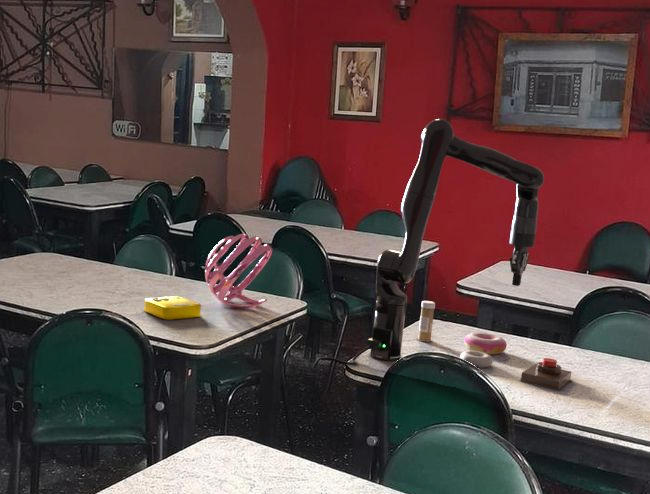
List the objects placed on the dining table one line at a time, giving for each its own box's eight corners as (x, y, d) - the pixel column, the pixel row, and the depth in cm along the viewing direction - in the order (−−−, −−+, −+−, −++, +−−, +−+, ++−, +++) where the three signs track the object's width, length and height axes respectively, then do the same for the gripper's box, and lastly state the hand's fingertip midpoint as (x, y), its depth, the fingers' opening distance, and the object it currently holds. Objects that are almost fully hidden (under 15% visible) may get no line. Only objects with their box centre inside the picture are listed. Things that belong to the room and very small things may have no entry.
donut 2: (490, 371, 260) (493, 363, 269) (491, 360, 259) (494, 352, 269) (457, 365, 263) (461, 357, 272) (458, 355, 262) (463, 347, 272)
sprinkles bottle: (433, 341, 290) (438, 303, 288) (423, 342, 288) (428, 303, 286) (424, 338, 294) (429, 300, 292) (414, 338, 292) (419, 300, 289)
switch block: (557, 390, 246) (560, 375, 245) (520, 381, 252) (522, 366, 251) (570, 380, 258) (572, 365, 257) (534, 371, 264) (536, 357, 263)
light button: (553, 369, 253) (554, 362, 252) (540, 366, 255) (541, 359, 254) (557, 366, 256) (558, 360, 256) (544, 363, 258) (545, 357, 258)
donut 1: (456, 348, 284) (457, 333, 283) (476, 343, 294) (478, 329, 293) (491, 358, 275) (493, 343, 274) (512, 352, 285) (514, 338, 284)
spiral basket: (305, 257, 320) (252, 210, 324) (269, 284, 297) (212, 233, 301) (270, 305, 335) (219, 260, 339) (232, 334, 312) (179, 285, 316)
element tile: (165, 320, 286) (166, 306, 285) (142, 310, 297) (143, 297, 296) (202, 316, 296) (203, 303, 295) (178, 307, 307) (179, 294, 306)
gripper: (518, 228, 273) (511, 281, 276) (504, 230, 262) (497, 285, 264) (541, 231, 269) (534, 285, 272) (529, 234, 258) (521, 290, 261)
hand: (516, 285), depth 268 cm, fingers closed
